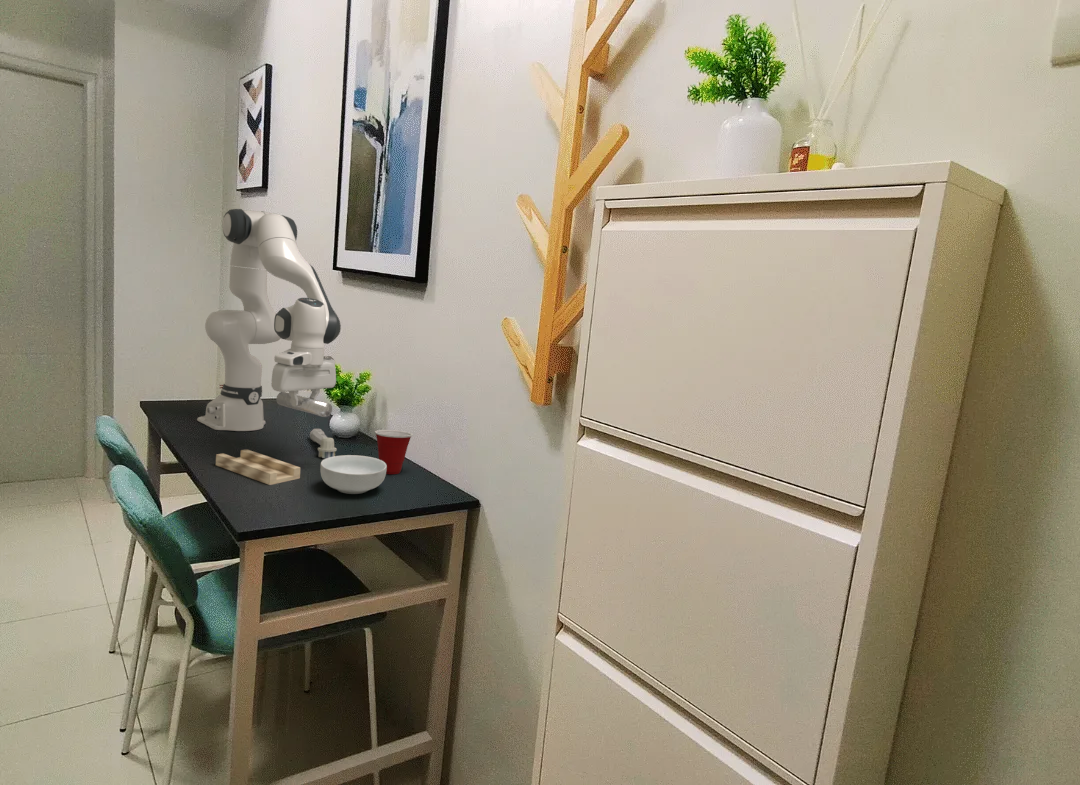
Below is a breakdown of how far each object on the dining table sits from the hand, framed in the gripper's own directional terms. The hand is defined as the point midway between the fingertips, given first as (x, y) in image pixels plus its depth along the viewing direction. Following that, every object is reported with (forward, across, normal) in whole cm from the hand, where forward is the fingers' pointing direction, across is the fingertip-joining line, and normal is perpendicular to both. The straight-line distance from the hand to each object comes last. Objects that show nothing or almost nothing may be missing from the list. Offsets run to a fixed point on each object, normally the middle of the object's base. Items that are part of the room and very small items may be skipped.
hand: (303, 405), depth 188 cm
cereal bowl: (+17, +5, +26) cm, 32 cm away
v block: (+17, +14, 0) cm, 22 cm away
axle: (+2, 0, 0) cm, 2 cm away
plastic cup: (+17, -15, +21) cm, 31 cm away
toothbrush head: (+18, -16, -9) cm, 25 cm away
